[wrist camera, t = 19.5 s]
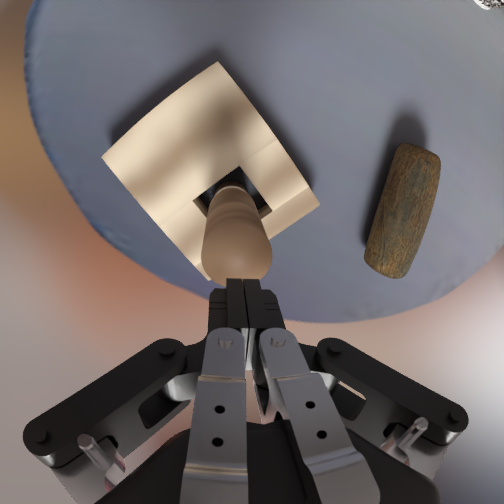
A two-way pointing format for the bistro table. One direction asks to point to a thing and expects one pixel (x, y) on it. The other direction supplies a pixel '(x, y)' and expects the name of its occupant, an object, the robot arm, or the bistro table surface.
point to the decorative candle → (490, 3)
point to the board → (206, 160)
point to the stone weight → (403, 211)
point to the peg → (234, 237)
